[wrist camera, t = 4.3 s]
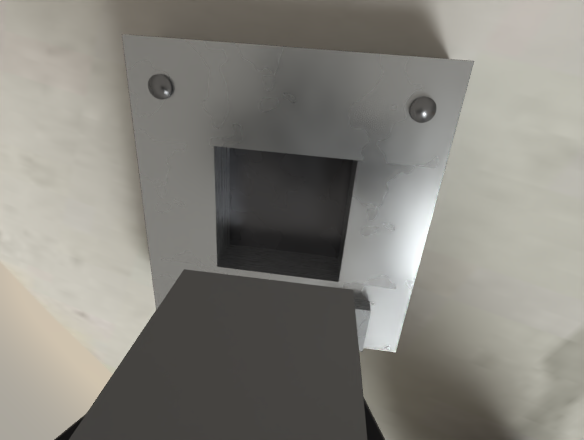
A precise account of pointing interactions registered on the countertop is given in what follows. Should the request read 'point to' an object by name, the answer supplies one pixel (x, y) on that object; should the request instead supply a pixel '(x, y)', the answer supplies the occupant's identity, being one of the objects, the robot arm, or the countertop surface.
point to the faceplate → (293, 165)
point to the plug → (238, 366)
